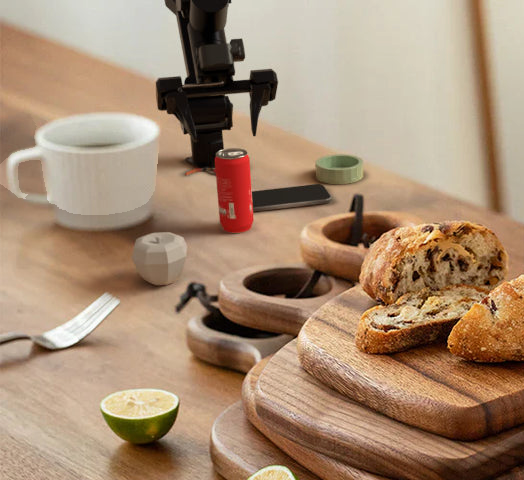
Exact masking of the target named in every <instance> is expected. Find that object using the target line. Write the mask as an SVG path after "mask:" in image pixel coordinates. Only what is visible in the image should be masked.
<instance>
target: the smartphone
mask: <svg viewBox="0 0 524 480" xmlns="http://www.w3.org/2000/svg"><path fill="white" fill-rule="evenodd" d="M332 200H333V199H332V195H331V194H330V193H329V191H328V190H327V188H326V187H325V185H323V184H320V183H314V184H307V185H306V184H305V185H296V186H287V187H280V188H269V189H262V190H252V204H253V213H254V212H262V211H269V210H270V211H271V210H279V209H287V208H295V207H305V206H312V205H321V204H328V203H331V202H332Z"/></svg>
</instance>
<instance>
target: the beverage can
mask: <svg viewBox="0 0 524 480" xmlns="http://www.w3.org/2000/svg"><path fill="white" fill-rule="evenodd" d="M214 169H215V170H216V174H215V179H216V180H215V181H216V194H217V202H218V203H217V204H218V205H217V206H218V216H219V217H218V218H219V224H220V226H221V227H222V230H223V231H224V232H226V233H228V234H241V233H246V232H248V231H250V230H251V229H252V226H253V223H254V221H255V220H254V212H253V204H252V191H253V190H252V177H251V163H250V156H249V154H248V151H247V150H246V149H244V148H239V147H238V148H237V147H230V148H229V147H228V148H224V149H223V150H220V151H218V152H217V153H216V157H215V167H214Z"/></svg>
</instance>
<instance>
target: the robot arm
mask: <svg viewBox="0 0 524 480" xmlns="http://www.w3.org/2000/svg"><path fill="white" fill-rule="evenodd" d="M230 4H232V0H164V6H165V7H166V8H167V9H168V10H169V11H170V12H171V13H172V14H173V15H175V17H176V18H175V19H176V23H177V28H178V34H179V39H180V44H181V51H182V54H183V55H182V57H183V62H184V67H185V73H186V76H185V79H184V81H183V79H182V76H181V75H179V76H178V75H177V76H164V77H158V78H157V80H156V81H155V100H156V107H157V111H160V112H164V111H166V114H167V115H173V116H174V117H175V118H176V119H177V120H178V121H179V124H180V129H181V131H182V133H183V135H188V136H189V139H190V148H191V156H188V157H185V158H184V162H186V163H187V164H189V165H191V166H193V167H195V168H196V167H198V168H203V169H204V168H210V169H212V168H215V157H216V153H217V152H218V151H220V150H223V149H225V146H224V145H225V144H224V138H223V137H224V135H223V131H231V130H232V128H233V127H234V124H233V123H234V122H233V121H234V120H233V114H234V103H232V102H231V99H230V97H229V96H228V95H236V94H247V93H248V95H249V99H250V100H249V116H250V130H251V133H252V137H256V135H257V129H258V122H259V117H260V113H261V110H262V107H266V106H268V105H269V102H273V101H274V100H276V97H277V93H278V85H279V80H278V74H277V72H276V71H275V70H273V69H272V68H263V69H251V70H250V72H249V79H241V80H240V79H238V80H237V79H236V80H234V77H235V75H236V69H235V63H239V62H244V61H245V59H246V50H245V44H244V40H243V38H232V39H230V41H229V42H227V36H226V31H225V27H226V25H227V22H228V21H227V20H228V19H227V18H228V13H229V6H230Z"/></svg>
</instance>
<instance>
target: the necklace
mask: <svg viewBox="0 0 524 480" xmlns="http://www.w3.org/2000/svg"><path fill="white" fill-rule="evenodd" d="M202 171H203V172H204V171H208V172H212V173H213V174H215V175H216V170H215V168H204V169H203V168H198V167H195V168H193V169H191V170H189V171H187V172H185V174H184V175H185V176H188V175H190V174H193V173H195V172H202Z"/></svg>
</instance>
